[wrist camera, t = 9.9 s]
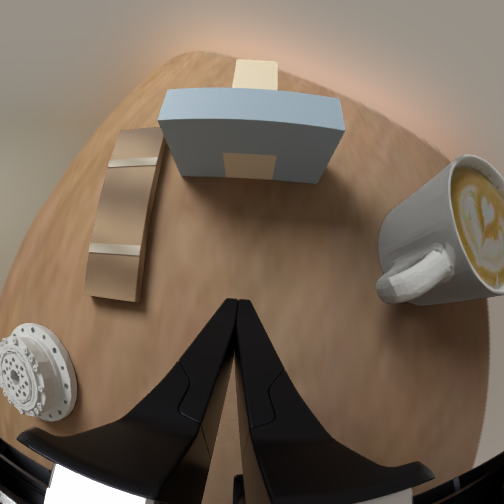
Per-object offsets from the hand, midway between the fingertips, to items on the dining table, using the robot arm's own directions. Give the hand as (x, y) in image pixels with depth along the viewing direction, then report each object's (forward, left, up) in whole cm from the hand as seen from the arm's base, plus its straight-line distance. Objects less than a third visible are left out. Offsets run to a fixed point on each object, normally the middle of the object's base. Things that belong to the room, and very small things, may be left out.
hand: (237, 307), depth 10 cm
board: (+8, +11, -11) cm, 17 cm away
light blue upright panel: (+17, 0, -11) cm, 20 cm away
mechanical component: (-9, +20, -12) cm, 24 cm away
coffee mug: (+5, -15, -11) cm, 19 cm away
